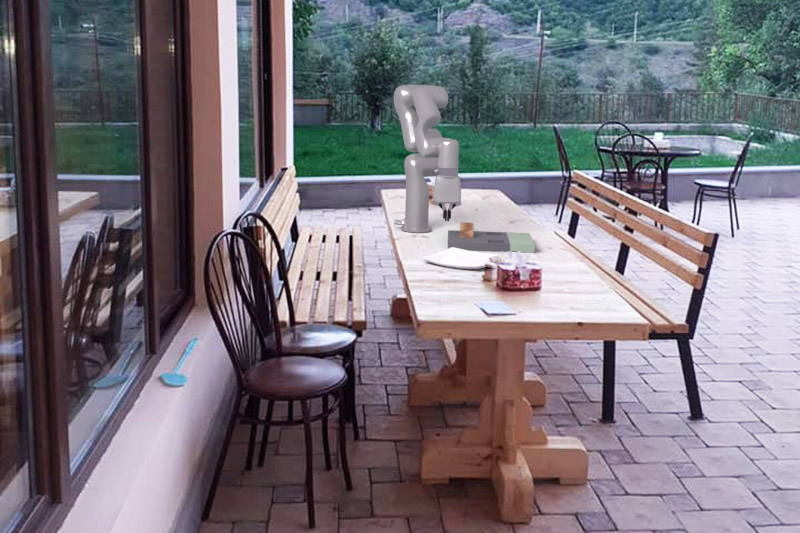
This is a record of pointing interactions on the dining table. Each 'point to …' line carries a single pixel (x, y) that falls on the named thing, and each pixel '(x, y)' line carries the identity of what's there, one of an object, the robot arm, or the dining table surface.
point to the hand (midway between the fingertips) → (446, 220)
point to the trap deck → (492, 241)
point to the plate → (459, 258)
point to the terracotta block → (466, 230)
